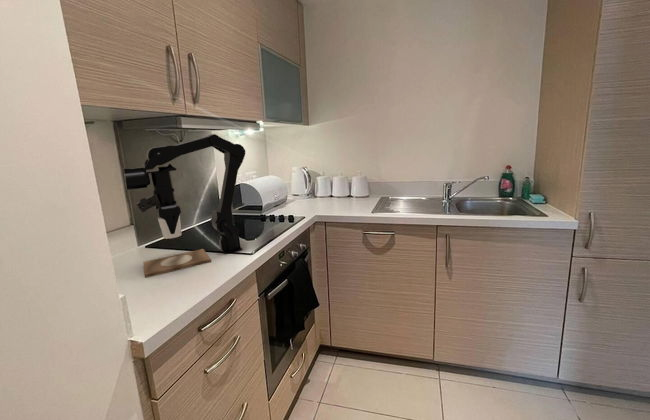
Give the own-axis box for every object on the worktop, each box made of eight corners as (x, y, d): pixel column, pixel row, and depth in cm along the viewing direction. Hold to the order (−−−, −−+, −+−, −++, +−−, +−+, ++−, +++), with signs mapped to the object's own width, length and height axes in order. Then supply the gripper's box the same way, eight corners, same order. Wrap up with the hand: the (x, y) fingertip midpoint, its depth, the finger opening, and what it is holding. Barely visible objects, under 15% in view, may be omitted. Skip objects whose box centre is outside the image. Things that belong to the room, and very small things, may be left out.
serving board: (203, 251, 123) (203, 248, 122) (211, 261, 111) (210, 258, 110) (143, 264, 113) (143, 261, 113) (145, 277, 101) (144, 274, 101)
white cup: (157, 238, 109) (153, 217, 107) (176, 232, 114) (172, 213, 113) (169, 240, 105) (165, 219, 104) (187, 234, 111) (184, 214, 109)
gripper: (134, 187, 110) (143, 231, 113) (135, 192, 94) (145, 243, 98) (170, 182, 115) (178, 224, 119) (176, 187, 100) (185, 235, 103)
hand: (171, 231), depth 109 cm, fingers closed on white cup, 6 cm apart
